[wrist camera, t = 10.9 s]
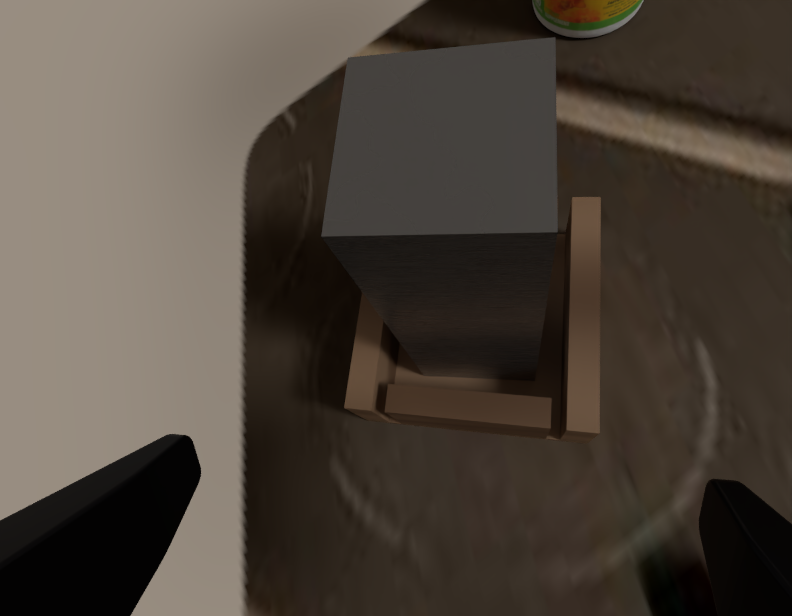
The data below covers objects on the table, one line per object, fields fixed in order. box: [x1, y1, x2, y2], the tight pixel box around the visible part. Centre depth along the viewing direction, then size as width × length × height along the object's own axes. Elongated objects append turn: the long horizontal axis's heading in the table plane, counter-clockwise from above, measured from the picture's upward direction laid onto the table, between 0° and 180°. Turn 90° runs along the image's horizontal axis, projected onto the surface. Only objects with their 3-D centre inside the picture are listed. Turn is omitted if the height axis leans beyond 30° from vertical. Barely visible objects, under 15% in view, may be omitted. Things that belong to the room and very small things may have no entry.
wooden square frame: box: [344, 197, 601, 444], centre depth 21 cm, size 9×9×4 cm
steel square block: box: [321, 37, 558, 381], centre depth 16 cm, size 4×4×12 cm
